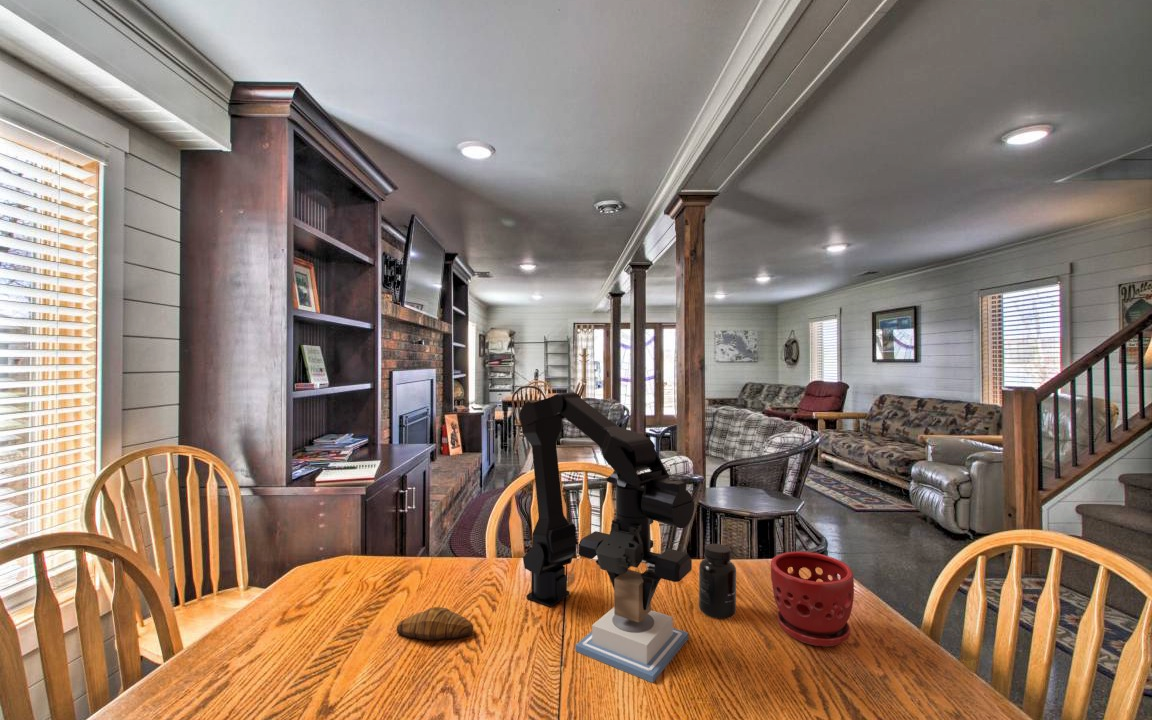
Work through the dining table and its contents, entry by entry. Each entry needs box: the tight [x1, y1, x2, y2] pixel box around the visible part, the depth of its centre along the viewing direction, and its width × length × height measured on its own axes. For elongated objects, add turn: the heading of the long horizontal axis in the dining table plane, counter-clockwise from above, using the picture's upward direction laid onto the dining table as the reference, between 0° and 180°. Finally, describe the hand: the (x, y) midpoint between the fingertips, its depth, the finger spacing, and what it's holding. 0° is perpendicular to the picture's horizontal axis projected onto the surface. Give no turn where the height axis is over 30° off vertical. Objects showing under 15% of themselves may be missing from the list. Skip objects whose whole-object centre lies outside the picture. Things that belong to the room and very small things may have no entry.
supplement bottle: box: [698, 543, 737, 620], centre depth 94 cm, size 7×7×12 cm
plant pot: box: [770, 551, 855, 648], centre depth 87 cm, size 13×13×12 cm
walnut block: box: [613, 568, 652, 623], centre depth 83 cm, size 4×4×6 cm
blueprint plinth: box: [574, 606, 690, 684], centre depth 83 cm, size 14×14×4 cm
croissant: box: [396, 606, 474, 641], centre depth 86 cm, size 14×7×5 cm, turn 87°
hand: (632, 605), depth 83 cm, fingers closed on walnut block, 4 cm apart
